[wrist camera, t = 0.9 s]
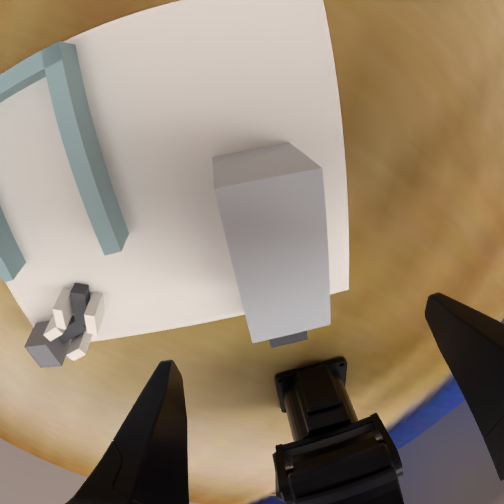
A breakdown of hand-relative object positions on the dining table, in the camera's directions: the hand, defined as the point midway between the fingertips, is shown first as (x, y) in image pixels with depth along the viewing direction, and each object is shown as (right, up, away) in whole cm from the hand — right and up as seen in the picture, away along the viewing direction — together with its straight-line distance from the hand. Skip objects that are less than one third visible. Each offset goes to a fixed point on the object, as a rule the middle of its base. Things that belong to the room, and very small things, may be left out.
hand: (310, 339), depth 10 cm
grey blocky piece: (-15, -2, +9) cm, 18 cm away
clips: (-14, -1, +9) cm, 16 cm away
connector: (-1, +4, +8) cm, 9 cm away
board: (-8, +6, +7) cm, 12 cm away
